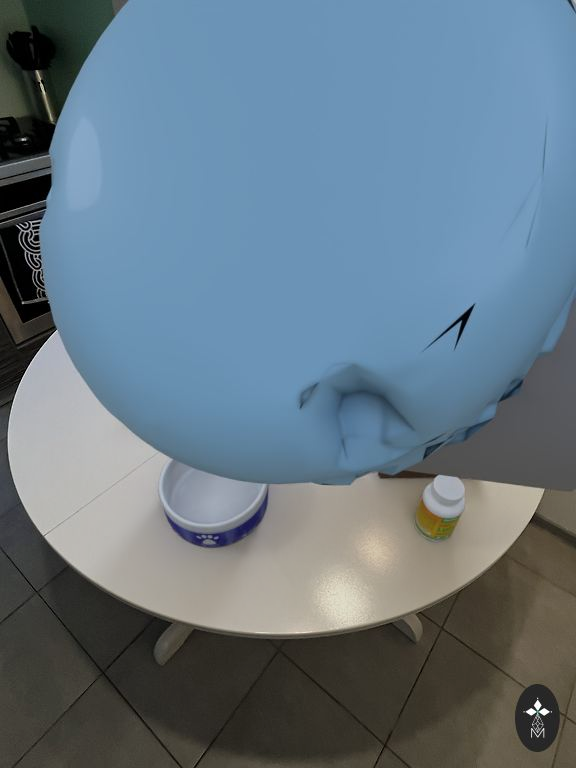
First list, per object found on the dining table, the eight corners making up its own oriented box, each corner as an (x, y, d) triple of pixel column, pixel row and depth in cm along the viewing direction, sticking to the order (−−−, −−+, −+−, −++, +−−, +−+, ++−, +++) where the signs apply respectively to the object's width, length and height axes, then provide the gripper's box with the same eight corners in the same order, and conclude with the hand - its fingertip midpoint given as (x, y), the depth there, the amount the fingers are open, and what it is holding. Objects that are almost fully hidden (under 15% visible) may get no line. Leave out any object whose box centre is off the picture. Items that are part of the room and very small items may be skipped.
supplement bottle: (432, 549, 62) (450, 512, 55) (405, 519, 65) (418, 480, 59) (460, 530, 64) (480, 491, 57) (432, 502, 67) (448, 462, 61)
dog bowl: (269, 458, 73) (268, 434, 69) (268, 548, 62) (267, 526, 58) (174, 460, 73) (168, 435, 69) (157, 550, 62) (147, 528, 58)
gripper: (134, 353, 24) (275, 384, 44) (703, 561, 15) (555, 482, 36) (178, 216, 23) (299, 310, 43) (779, 353, 15) (587, 391, 35)
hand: (414, 387), depth 40 cm, fingers open, 13 cm apart
